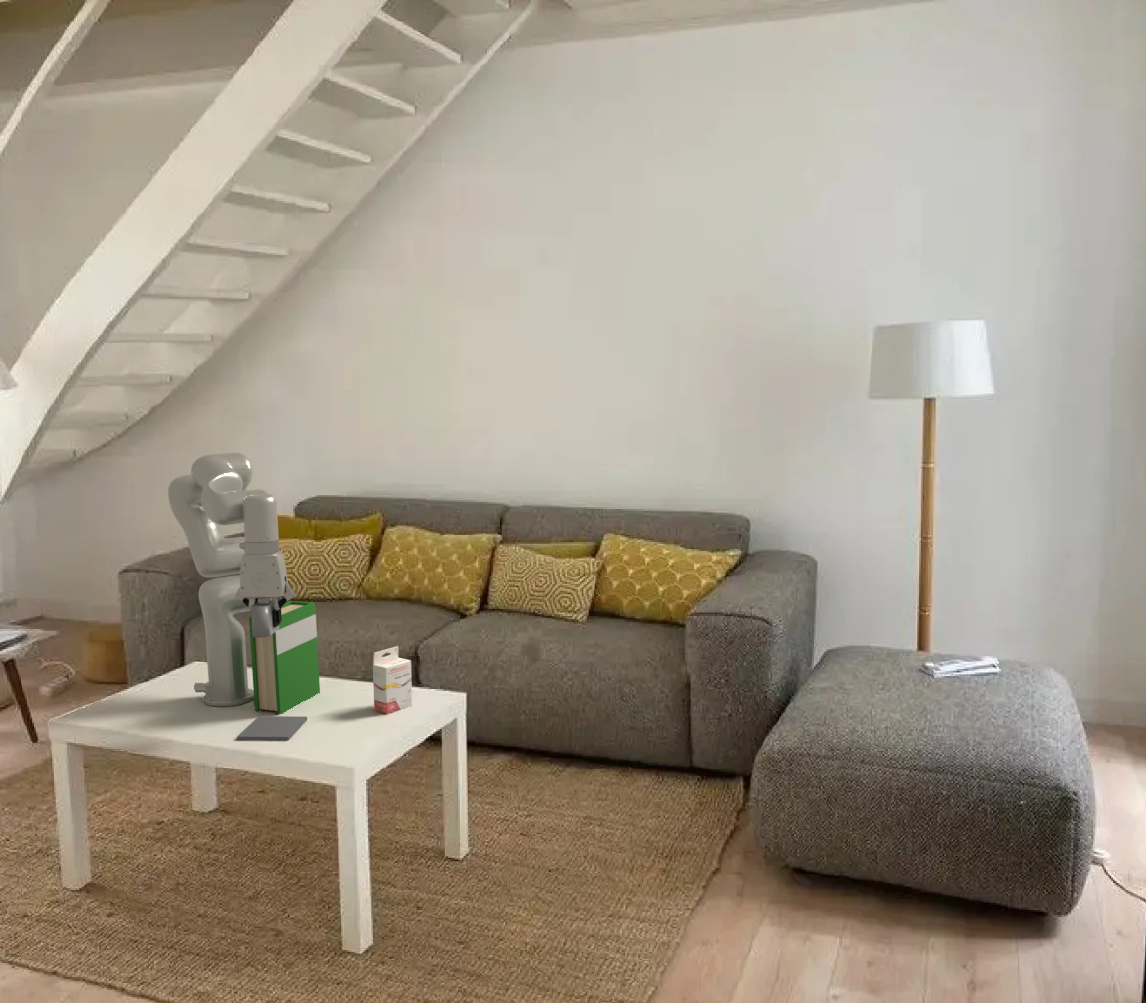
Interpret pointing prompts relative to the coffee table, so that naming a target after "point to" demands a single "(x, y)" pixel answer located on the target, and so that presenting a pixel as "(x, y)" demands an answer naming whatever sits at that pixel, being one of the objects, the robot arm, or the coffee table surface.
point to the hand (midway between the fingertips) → (266, 624)
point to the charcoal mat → (272, 728)
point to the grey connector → (263, 618)
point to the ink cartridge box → (391, 681)
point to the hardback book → (286, 660)
